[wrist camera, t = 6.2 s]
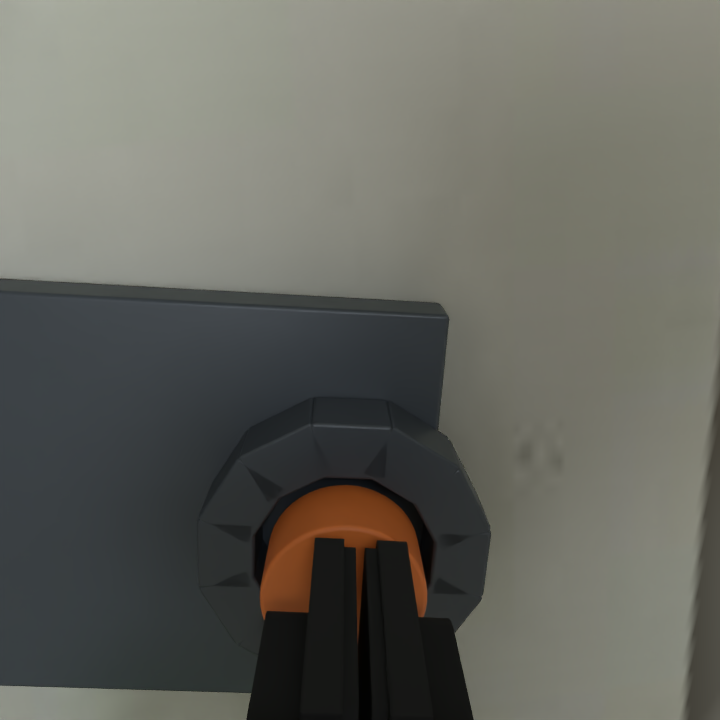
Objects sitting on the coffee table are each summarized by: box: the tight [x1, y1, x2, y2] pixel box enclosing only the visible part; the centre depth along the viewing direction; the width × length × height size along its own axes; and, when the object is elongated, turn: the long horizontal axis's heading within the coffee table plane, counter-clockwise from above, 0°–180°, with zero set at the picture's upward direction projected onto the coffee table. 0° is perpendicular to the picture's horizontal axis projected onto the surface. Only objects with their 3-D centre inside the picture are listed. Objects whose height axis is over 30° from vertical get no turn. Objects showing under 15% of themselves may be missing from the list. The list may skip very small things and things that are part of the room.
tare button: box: [260, 485, 427, 635], centre depth 13 cm, size 3×3×2 cm
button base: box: [0, 279, 491, 693], centre depth 15 cm, size 13×10×3 cm
